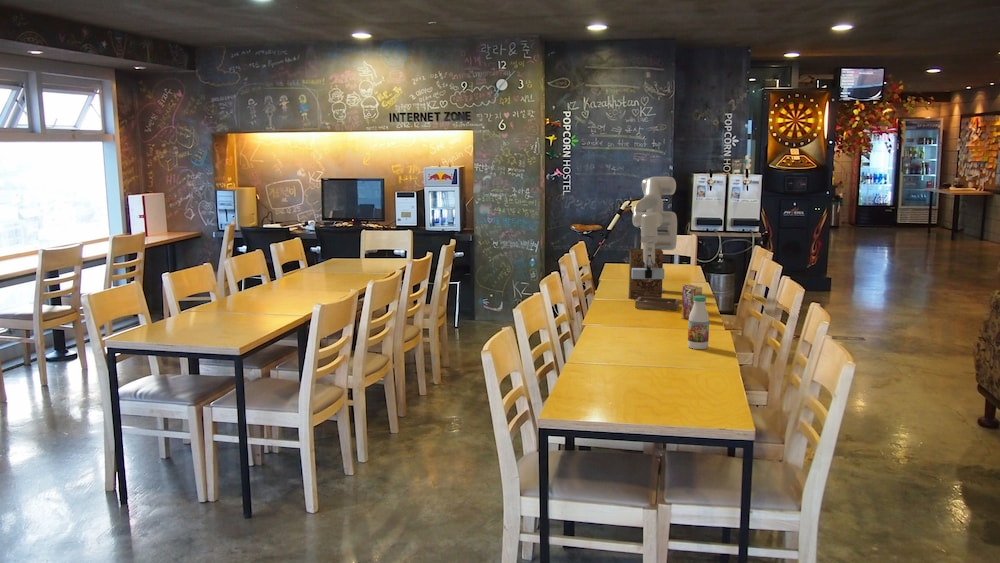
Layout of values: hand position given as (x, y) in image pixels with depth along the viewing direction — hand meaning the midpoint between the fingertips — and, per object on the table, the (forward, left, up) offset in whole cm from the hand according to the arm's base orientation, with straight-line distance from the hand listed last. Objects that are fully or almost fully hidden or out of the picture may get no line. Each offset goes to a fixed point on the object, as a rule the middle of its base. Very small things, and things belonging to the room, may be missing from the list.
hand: (647, 276), depth 380 cm
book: (-20, -3, -15) cm, 25 cm away
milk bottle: (+74, +29, -15) cm, 80 cm away
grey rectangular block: (0, 0, -1) cm, 1 cm away
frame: (+1, +5, -14) cm, 15 cm away
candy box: (+24, +23, -15) cm, 36 cm away
